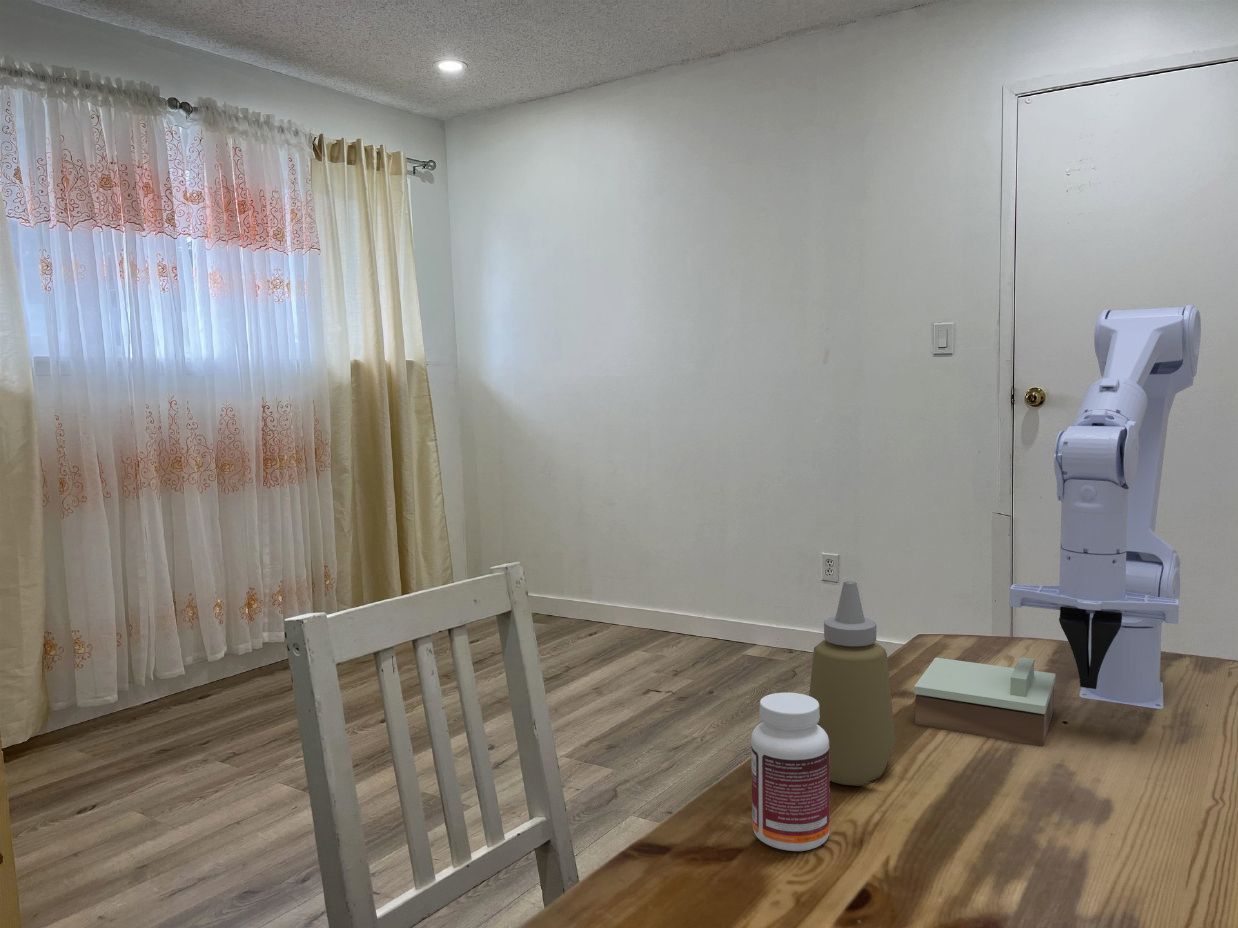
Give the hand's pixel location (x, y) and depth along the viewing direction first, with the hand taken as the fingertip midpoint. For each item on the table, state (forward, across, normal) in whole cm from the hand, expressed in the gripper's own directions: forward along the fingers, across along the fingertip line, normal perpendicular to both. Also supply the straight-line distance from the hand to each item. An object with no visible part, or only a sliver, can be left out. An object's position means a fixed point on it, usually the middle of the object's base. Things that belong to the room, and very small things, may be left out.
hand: (1088, 685), depth 90 cm
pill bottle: (+6, -20, -31) cm, 37 cm away
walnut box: (+6, -10, 0) cm, 11 cm away
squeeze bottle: (+6, -18, -18) cm, 26 cm away
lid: (+2, -10, 0) cm, 10 cm away
